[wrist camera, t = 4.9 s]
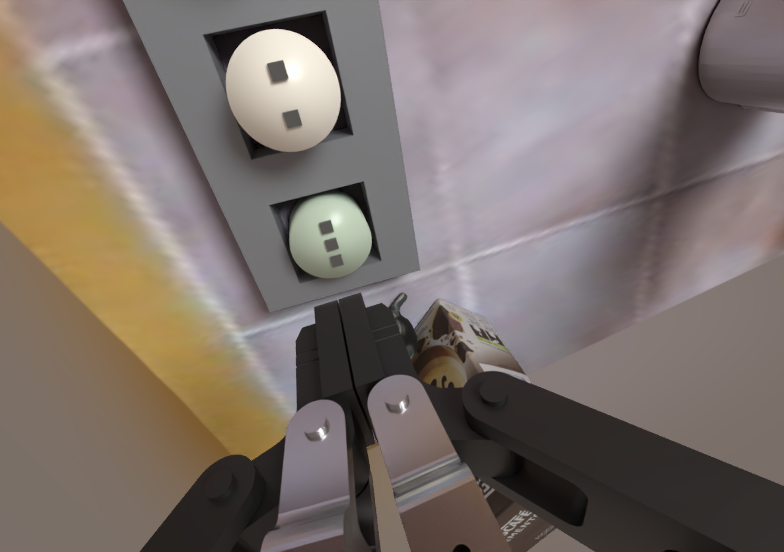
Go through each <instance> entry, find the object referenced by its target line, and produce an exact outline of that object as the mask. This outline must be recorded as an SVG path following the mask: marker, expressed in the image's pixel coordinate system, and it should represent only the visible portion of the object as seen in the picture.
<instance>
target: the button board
mask: <svg viewBox="0 0 784 552" xmlns="http://www.w3.org/2000/svg"><path fill="white" fill-rule="evenodd" d="M123 2H124V4H125V6H126V8H127V10H128V13H129V15H130V17H131V19H132V21H133V23H134V25H135V27H136V29H137V32H138V34H139V36H140V38H141V40H142V42H143V44H144V46H145V49H146V51H147V53H148V55H149V57H150V59H151V61H152V63H153V65H154V68H155V70H156V72H157V74H158V76H159V78H160V80H161V82H162V85H163V87H164V89H165V91H166V93H167V95H168V97H169V99H170V102H171V104H172V106H173V108H174V110H175V112H176V114H177V116H178V118H179V121H180V123H181V125H182V127H183V129H184V131H185V133H186V135H187V138H188V140H189V142H190V144H191V146H192V148H193V150H194V152H195V154H196V157H197V159H198V161H199V163H200V165H201V167H202V169H203V171H204V174H205V176H206V178H207V180H208V182H209V184H210V186H211V188H212V190H213V193H214V195H215V197H216V199H217V201H218V203H219V205H220V207H221V210H222V212H223V214H224V216H225V218H226V220H227V222H228V224H229V226H230V229H231V231H232V233H233V235H234V237H235V239H236V241H237V243H238V246H239V248H240V250H241V252H242V254H243V256H244V258H245V260H246V263H247V265H248V267H249V269H250V271H251V273H252V275H253V277H254V279H255V282H256V284H257V286H258V288H259V290H260V292H261V294H262V296H263V299H264V301H265V303H266V305H267V307H268V309H269V311H270V312H274V311H277V310H281V309H284V308H288V307H291V306H295V305H298V304H302V303H305V302H309V301H312V300H316V299H319V298H323V297H327V296H330V295H334V294H337V293H341V292H344V291H348V290H351V289H355V288H358V287H362V286H365V285H369V284H372V283H376V282H380V281H383V280H387V279H390V278H394V277H397V276H401V275H404V274H408V273H411V272H415V271H418V270H420V266H419V259H418V253H417V246H416V240H415V233H414V227H413V220H412V214H411V207H410V201H409V195H408V188H407V182H406V175H405V169H404V162H403V156H402V149H401V143H400V136H399V130H398V123H397V117H396V110H395V104H394V97H393V91H392V84H391V78H390V71H389V65H388V58H387V52H386V45H385V39H384V32H383V26H382V19H381V13H380V6H379V0H123ZM319 14H322V17H323V21H324V25H325V30H326V34H327V38H328V43H329V47H330V52H331V56H332V60H333V65H334V69H335V73H336V75H337V78H338V82H339V87H340V95H341V100H342V104H343V108H344V113H345V117H346V122H347V126H348V127H347V128H343V129H339V130H335V131H331V132H330V133H329V134H328V135H327V136H326V138H325V139H323V140H322V141H321V142H320V143H318V144H317V145H315V146H313V147H311V148H309V149H306V150H303V151H297V152H284V151H278V150H274V149H272V148H269V147H263V148H258V149H255V148H254V146H253V143H252V140H251V138H250V135H249V134H248V133H247V132H246V131H245V130H244V129H243V128H242V127H241V125H240V124H239V123H238V121H237V119H236V118H235V116H234V114H233V112H232V110H231V108H230V105H229V101H228V98H227V92H226V72H225V69H224V66H223V64H222V61H221V58H220V56H219V53H218V51H217V48H216V45H215V43H214V40H213V37H212V36H215V35H220V34H225V33H230V32H235V31H240V30H245V29H250V28H255V27H260V26H265V25H270V24H275V23H280V22H285V21H290V20H295V19H300V18H305V17H310V16H315V15H319ZM359 182H360V183H361V187H362V192H363V196H364V200H365V205H366V209H367V214H368V218H369V222H370V227H371V231H372V235H373V240H374V244H375V245H373V246H371V250H370V253H369V255H368V257H367V259H366V260H365V262H364V263H363V264H362V265H361V266H360V267H359V268H358V269H357V270H355V271H354V272H352V273H350V274H348V275H346V276H343V277H339V278H320V277H316V276H314V275H311V274H309V273H307V272H306V271H304V270H303V269H302V268H301V267H299V265H298V264H297V263H296V262H295V260H294V258H293V256H292V254H291V251H290V241H289V238H288V236H287V233H286V230H285V228H284V225H283V223H282V220H281V217H280V215H279V212H278V209H277V207H276V203H280V202H284V201H287V200H291V199H295V198H299V197H303V196H307V195H311V194H315V193H319V192H323V191H327V190H331V189H335V188H339V187H343V186H347V185H351V184H355V183H359Z"/></svg>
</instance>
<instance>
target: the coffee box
mask: <svg viewBox="0 0 784 552" xmlns="http://www.w3.org/2000/svg"><path fill="white" fill-rule="evenodd" d="M414 331H415V333H416V335H417V351H416V353H415V355H414V357H413V358H412V360H411V362H412V364H413V367H414V369H415V372H416V374H417V375H418V376H419V378H421V379H422V380H423V381H424V382H426V383H427V384H430V385H432V386H435V387H441V388H458V387H464V385H465V383H466V382H467V381H468V380H469V379H470V378H471V377H472V376H474V375H476V374H478V373H481V372H485V371H499V372H503V373H506V374H509V375H511V376H514V377H516V378H519V379H521V380H523V381H526V382H528V383H531V381H530V380H529V379H528V377H527V376H526V374H525V373H524V372H523V370H522V368H521V367H520V366H519V364H518V363H517V361H516V360H515V358H514V357H513V356H512V354H511V353H510V351H509V350H508V348H507V347H506V346H505V344H504V343H503V341H502V340H501V338H500V337H499V336H498V334H497V333H496V331H495V330H494V329H493V327H492V326H491V324H490V323H489V321H488V320H487V319H486V318H484V317H481V316H479V315H477V314H474V313H472V312H470V311H467V310H465V309H463V308H460V307H458V306H455V305H453V304H451V303H448V302H446V301H443V300H440V299H439V300H436V302H435V303H434V304H433V306H432V307H431V308H430V310H429V311H428V312H427V314H426V315H425V317H424V318H423V319H422V321H421V322H420V323H419V325H418V326H417V327H416V329H415V330H414ZM531 384H532V383H531ZM474 478H475V479H476V481H477V483H478V485H479V487H480V489H481V491H482V493H483V495H484V497H485V499H486V501H487V503H488V505H489V507H490V509H491V511H492V513H493V514H494V516H495V518H496V520H497V522H498V524H499V526H500V528H501V530H502V532H503V534H504V536H505V538H506V540H507V542H508V544H509V546H510V548H511V549H512V551H513V552H526V551H528V550H529V549H530V548H532V547H533V546H534V545H535V544H537V543H538V542H539V541H540V540H542V539H543V538H544V537H546V535H548V534H549V533H551V532H552V531H553V530H555V529H556V527H554V526H553V525H551V524H550V523H548V522H546V521H545V520H543V519H541V518H540V517H538V516H537V515H535V514H533V513H532V512H530V511H528V510H527V509H525V508H524V507H522V506H520V505H519V504H517V503H516V502H514V501H512V500H511V499H509V498H507V497H506V496H504V495H503V494H501V493H499V492H498V491H496V490H494V489H493V488H491V487H490V486H488V485H486V484H485V483H484V482H482V481H481V480H480V479H479V478H478V477H474Z"/></svg>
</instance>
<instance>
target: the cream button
mask: <svg viewBox="0 0 784 552" xmlns="http://www.w3.org/2000/svg"><path fill="white" fill-rule="evenodd" d="M226 92H227V98H228V101H229V105H230V108H231V110H232V112H233V114H234V116H235V118H236V119H237V121H238V123H239V124H240V125H241V127H242V128H243V129H244V130H245V131H246V132H247V133H248V134H249V135H250V136H251V137H252V138H253V139H255V140H256V141H258V142H259V143H261V144H263V145H265V146H267V147H269V148H272V149H274V150H278V151H284V152H297V151H303V150H306V149H309V148H311V147H313V146H315V145H317V144H318V143H320V142H321V141H322V140H323V139H325V138H326V136H327V135H328V134H329V133H330V132H331V130H332V129H333V127H334V125H335V123H336V121H337V118H338V115H339V110H340V102H341V95H340V87H339V82H338V78H337V75H336V73H335V70H334V68H333V66H332V64H331V63H330V61H329V59H328V58H327V57H326V55H325V54H324V53H323V52H322V51H321V49H320V48H319V47H318V46H316V45H315V44H314V43H313V42H312V41H310V40H309V39H307V38H306V37H304V36H302V35H300V34H298V33H295V32H292V31H288V30H282V29H270V30H264V31H261V32H257V33H255V34H253V35H251V36H250V37H248V38H247V39H245V40H244V41H243V42H242V43H241V44H240V45H239V46H238V47H237V49H236V50H235V51H234V53H233V55H232V57H231V59H230V62H229V65H228V68H227V73H226Z"/></svg>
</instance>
